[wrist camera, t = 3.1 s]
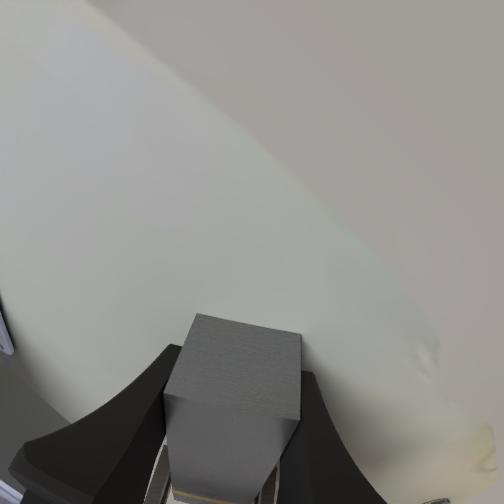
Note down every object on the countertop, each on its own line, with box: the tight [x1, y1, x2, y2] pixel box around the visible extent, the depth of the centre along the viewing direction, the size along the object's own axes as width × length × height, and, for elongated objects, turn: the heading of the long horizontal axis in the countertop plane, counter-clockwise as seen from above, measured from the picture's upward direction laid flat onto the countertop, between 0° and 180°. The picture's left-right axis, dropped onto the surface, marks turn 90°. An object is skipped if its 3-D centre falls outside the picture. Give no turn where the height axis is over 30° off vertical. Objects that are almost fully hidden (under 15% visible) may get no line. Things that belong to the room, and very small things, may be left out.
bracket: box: [144, 445, 277, 504], centre depth 14 cm, size 7×1×6 cm, turn 81°
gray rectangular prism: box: [163, 314, 301, 504], centre depth 12 cm, size 4×11×4 cm, turn 171°
